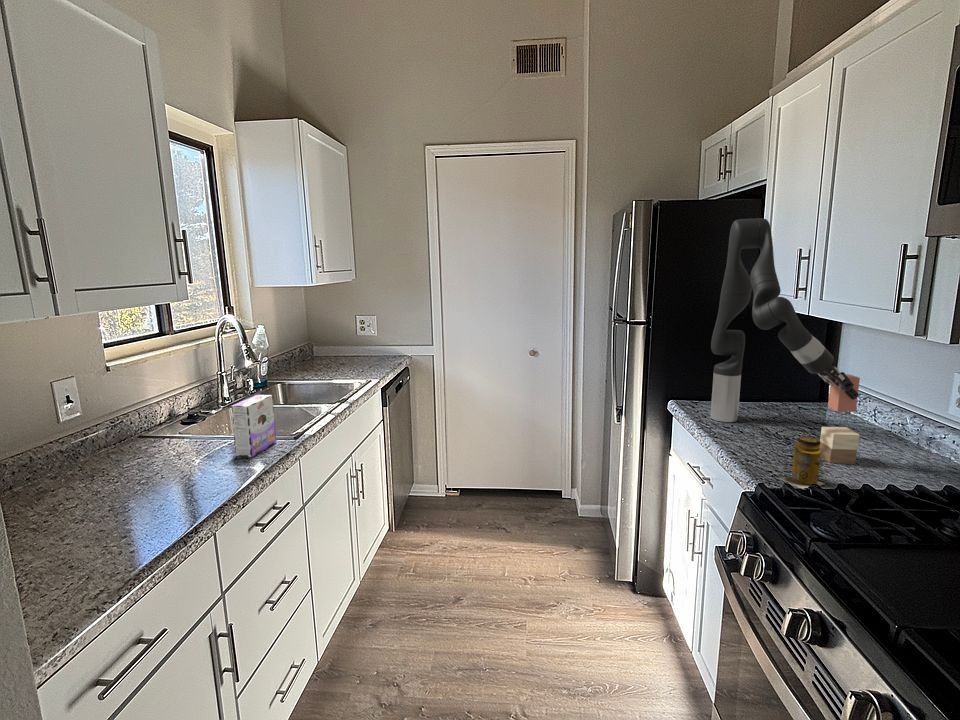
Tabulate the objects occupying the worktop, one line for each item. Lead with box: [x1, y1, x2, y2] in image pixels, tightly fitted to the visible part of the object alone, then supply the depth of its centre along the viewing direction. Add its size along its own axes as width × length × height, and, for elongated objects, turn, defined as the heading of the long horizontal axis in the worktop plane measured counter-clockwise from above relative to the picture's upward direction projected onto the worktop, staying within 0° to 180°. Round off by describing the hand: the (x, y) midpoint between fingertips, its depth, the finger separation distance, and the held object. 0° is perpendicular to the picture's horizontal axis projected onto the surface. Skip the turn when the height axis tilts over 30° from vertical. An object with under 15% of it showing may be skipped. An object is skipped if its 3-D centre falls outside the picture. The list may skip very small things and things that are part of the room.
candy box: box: [230, 394, 277, 458], centre depth 172 cm, size 14×6×16 cm, turn 168°
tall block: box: [827, 373, 861, 413], centre depth 158 cm, size 5×5×10 cm
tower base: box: [820, 441, 858, 465], centre depth 161 cm, size 7×7×4 cm
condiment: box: [778, 435, 826, 490], centre depth 144 cm, size 7×8×12 cm
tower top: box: [819, 426, 861, 451], centre depth 160 cm, size 7×7×4 cm
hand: (849, 394), depth 158 cm, fingers closed on tall block, 5 cm apart
